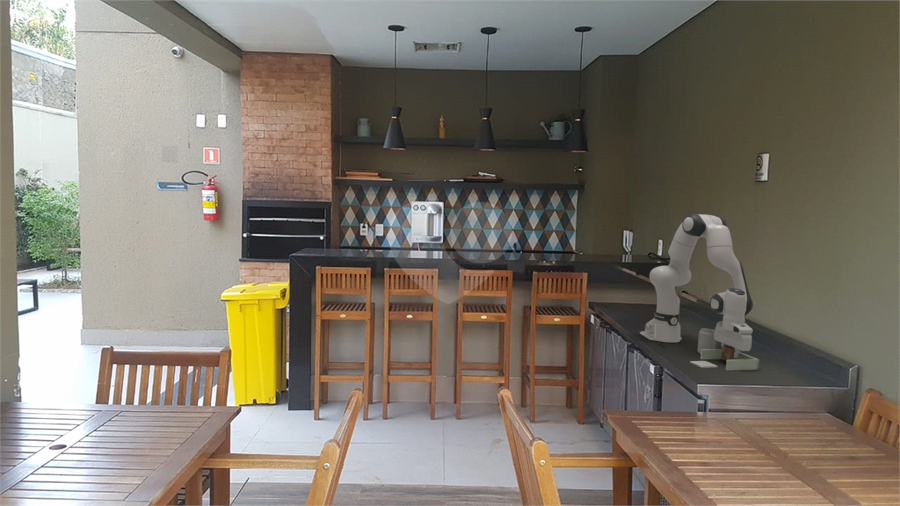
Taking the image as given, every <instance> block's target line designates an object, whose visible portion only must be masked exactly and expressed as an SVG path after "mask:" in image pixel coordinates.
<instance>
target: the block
mask: <svg viewBox="0 0 900 506" xmlns="http://www.w3.org/2000/svg"><path fill="white" fill-rule="evenodd" d="M721 349H722V354H721V359H720V360H724V361H725V362H726V361H727V360H737V359H739V354H738V358H734V357H732V356H733V353H735V351H736V350H735V348H734V347H731V346H729V345H727V346H721Z"/></svg>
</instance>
